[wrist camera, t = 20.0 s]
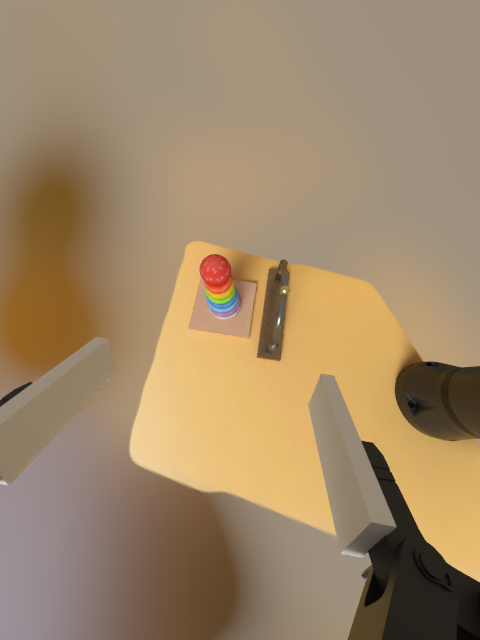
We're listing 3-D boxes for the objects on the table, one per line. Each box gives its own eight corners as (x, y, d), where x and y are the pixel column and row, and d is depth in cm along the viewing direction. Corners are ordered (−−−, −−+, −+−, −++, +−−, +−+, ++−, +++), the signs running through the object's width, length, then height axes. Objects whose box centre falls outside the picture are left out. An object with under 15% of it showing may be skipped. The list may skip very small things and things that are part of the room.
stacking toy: (215, 285, 51) (202, 232, 33) (246, 296, 50) (249, 247, 32) (202, 314, 49) (180, 273, 31) (233, 326, 48) (230, 291, 30)
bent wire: (278, 361, 46) (294, 351, 33) (256, 357, 47) (263, 346, 33) (287, 275, 53) (304, 238, 40) (268, 272, 53) (278, 234, 40)
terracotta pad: (256, 285, 52) (256, 283, 51) (248, 338, 48) (248, 337, 47) (202, 276, 53) (201, 275, 52) (189, 329, 48) (188, 328, 48)
